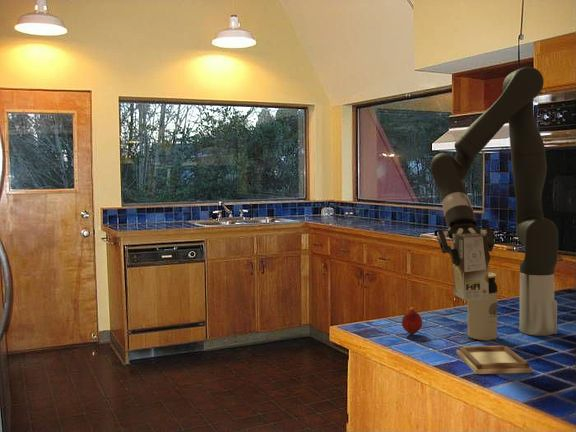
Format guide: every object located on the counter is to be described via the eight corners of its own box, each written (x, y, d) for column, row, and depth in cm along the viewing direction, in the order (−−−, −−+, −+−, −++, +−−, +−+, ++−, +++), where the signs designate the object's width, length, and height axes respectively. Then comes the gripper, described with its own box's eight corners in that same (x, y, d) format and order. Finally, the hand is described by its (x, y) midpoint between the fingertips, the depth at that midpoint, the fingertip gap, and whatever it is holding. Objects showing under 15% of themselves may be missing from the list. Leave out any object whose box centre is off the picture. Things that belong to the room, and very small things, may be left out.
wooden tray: (506, 352, 158) (506, 344, 158) (532, 372, 142) (532, 364, 142) (456, 353, 158) (456, 346, 158) (476, 374, 142) (476, 365, 142)
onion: (422, 338, 173) (422, 310, 173) (401, 337, 174) (401, 309, 174) (422, 332, 179) (422, 305, 178) (402, 331, 180) (401, 305, 179)
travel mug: (461, 335, 175) (461, 273, 174) (483, 332, 178) (483, 270, 177) (480, 342, 168) (480, 277, 166) (503, 338, 171) (503, 274, 169)
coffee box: (490, 300, 151) (489, 235, 149) (464, 301, 150) (463, 236, 149) (476, 292, 160) (475, 231, 159) (452, 294, 159) (450, 232, 158)
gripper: (433, 205, 161) (445, 255, 150) (488, 203, 161) (504, 253, 150) (429, 223, 167) (441, 273, 156) (482, 221, 166) (497, 271, 155)
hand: (472, 263), depth 153 cm, fingers closed on coffee box, 6 cm apart
